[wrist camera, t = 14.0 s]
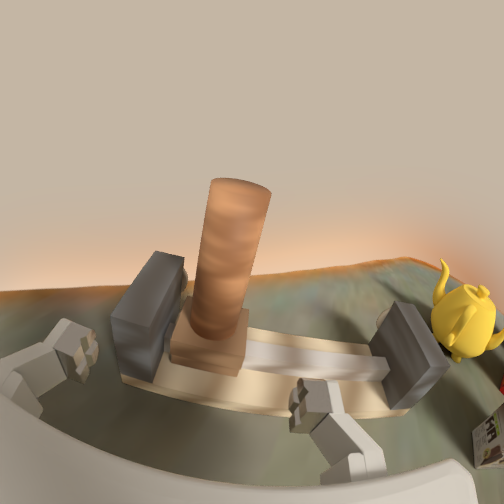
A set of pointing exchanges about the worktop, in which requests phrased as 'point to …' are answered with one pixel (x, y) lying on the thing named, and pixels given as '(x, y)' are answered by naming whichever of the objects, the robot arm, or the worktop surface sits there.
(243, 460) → the worktop surface
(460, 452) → the worktop surface
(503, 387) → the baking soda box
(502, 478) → the worktop surface
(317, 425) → the robot arm
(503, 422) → the coffee box
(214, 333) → the wooden peg on plate
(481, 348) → the teapot
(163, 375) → the track
